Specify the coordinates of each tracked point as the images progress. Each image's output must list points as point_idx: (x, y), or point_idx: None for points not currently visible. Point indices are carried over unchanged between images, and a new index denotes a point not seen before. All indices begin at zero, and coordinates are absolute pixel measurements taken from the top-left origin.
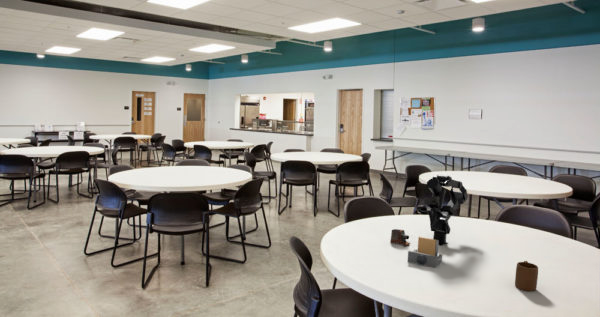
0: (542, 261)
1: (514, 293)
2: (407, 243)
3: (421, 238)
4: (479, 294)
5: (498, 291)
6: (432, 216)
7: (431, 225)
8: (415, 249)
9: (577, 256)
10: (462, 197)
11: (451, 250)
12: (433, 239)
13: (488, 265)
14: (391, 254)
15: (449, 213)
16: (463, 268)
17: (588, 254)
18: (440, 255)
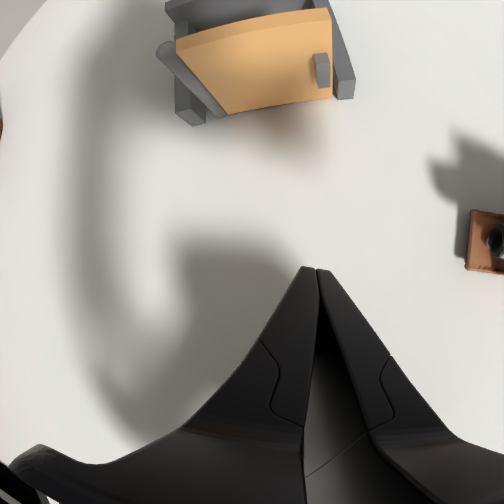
0: (4, 394)
1: (10, 87)
2: (476, 241)
3: (299, 14)
4: (65, 12)
5: (31, 62)
6: (342, 435)
7: (315, 271)
8: (349, 75)
9: (8, 458)
10: None
11: (213, 357)
12: (197, 43)
13: (44, 243)
14: (436, 41)
15: (18, 491)
16: (98, 122)
17: None
18: (180, 92)
